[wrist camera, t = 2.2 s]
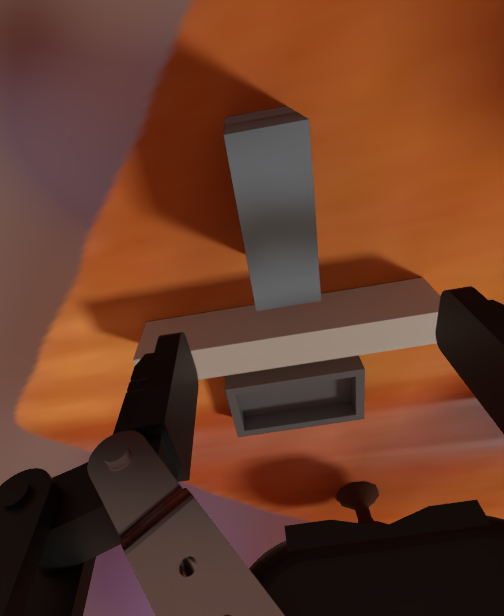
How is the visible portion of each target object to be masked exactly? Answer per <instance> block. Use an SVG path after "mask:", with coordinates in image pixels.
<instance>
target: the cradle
mask: <svg viewBox="0 0 504 616" xmlns="http://www.w3.org/2000/svg"><path fill="white" fill-rule="evenodd" d="M364 382H365V369H364V366H363V364H362V362H361V360H360V357H359V355H357V356H351V357H344V358H338V359H331V360H325V361H318V362H312V363H305V364H299V365H292V366H286V367H279V368H273V369H266V370H260V371H253V372H247V373H240V374H233V375H227V376H225V392H226V396H227V399H228V403H229V406H230V410H231V414H232V417H233V421H234V424H235V428H236V431H237V435H238V437H243V436H250V435H257V434H264V433H271V432H277V431H284V430H291V429H298V428H305V427H312V426H319V425H326V424H333V423H339V422H346V421H353V420H360V419H364Z"/></svg>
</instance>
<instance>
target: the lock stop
mask: <svg viewBox="0 0 504 616" xmlns="http://www.w3.org/2000/svg"><path fill="white" fill-rule="evenodd" d="M224 139H225V145H226V150H227V156H228V161H229V166H230V172H231V177H232V183H233V188H234V193H235V199H236V204H237V210H238V215H239V220H240V226H241V231H242V237H243V242H244V247H245V253H246V258H247V264H248V269H249V274H250V280H251V285H252V291H253V296H254V302H255V307H256V311H262V310H268V309H274V308H280V307H286V306H293V305H299V304H305V303H311V302H317V301H321V291H320V276H319V261H318V246H317V231H316V216H315V201H314V186H313V172H312V157H311V142H310V127H309V119H308V118H306V117H304V116H303V115H301V114H299V113H298V112H296V111H294V110H293V109H291V108H289V107H288V106H285V107H279V108H274V109H268V110H263V111H258V112H252V113H247V114H242V115H236V116H231V117H226V119H225V128H224Z"/></svg>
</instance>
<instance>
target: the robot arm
mask: <svg viewBox="0 0 504 616" xmlns="http://www.w3.org/2000/svg"><path fill="white" fill-rule="evenodd" d="M435 335H436V341H437V344H438V347H439V349H440V350H441V352H442V353H443V355H444V356H445V357H446V359H447V360H448V361H449V362H450V364H451V365H452V366H453V368H454V369H455V370H456V372H457V373H458V374H459V376H460V377H461V378H462V380H463V381H464V382H465V384H466V385H467V386H468V388H469V389H470V390H471V392H472V393H473V394H474V395H475V397H476V398H477V399H478V401H479V402H480V403H481V405H482V406H483V407H484V409H485V410H486V411H487V413H488V414H489V415H490V417H491V418H492V419H493V421H494V422H495V423H496V424H497V426H498V427H499V428H500V430H501V431H502V432H503V434H504V305H503V304H501V303H499V302H496V301H494V300H487V299H486V298H485V297H484V296H483V295H482V294H481V293H479V292H478V291H477V290H476V289H475V288H473V287H463V288H457V289H451V290H445V291H443V292H442V294H441V297H440V303H439V310H438V317H437V324H436V331H435ZM197 395H198V375H197V370H196V366H195V363H194V360H193V357H192V354H191V351H190V348H189V345H188V342H187V338H186V336H185V334H184V332H179V333H173V334H166V335H160V336H159V337H158V340H157V344H156V348H155V351H154V353H148V354H144V356H143V357H142V358H141V359H140V361H139V362H138V363H137V364H136V365H135V367H134V370H133V373H132V376H131V382H130V383H129V386H128V389H127V393H126V395H125V398H124V401H123V405H122V408H121V411H120V414H119V417H118V420H117V423H116V426H115V430H114V433H113V435H111V436H109V437H108V438H106V439H105V440H103V441H102V442H101V443H100V444H99V445H98V446H97V447H96V448H95V449H94V451H93V452H92V454H91V456H90V458H89V461H88V462H87V463H85V464H83V465H81V466H79V467H76V468H74V469H72V470H69V471H67V472H65V473H62V474H60V475H58V476H55V477H53V478H51V476H50V475H49V474H48V473H47V472H46V471H45V470H43V469H38V468H35V469H28V470H25V471H22V472H20V473H18V474H16V475H14V476H13V477H11V478H9V479H8V480H7V481H5V482H4V483H3V484H2V485H1V486H0V616H83V613H84V608H85V604H86V599H87V595H88V590H89V586H90V581H91V577H92V572H93V568H94V563H95V559H96V556H97V555H99V554H101V553H103V552H106V551H108V550H110V549H112V548H114V547H116V546H118V545H120V544H121V546H122V548H123V550H124V553H125V555H126V557H127V559H128V561H129V562H130V565H131V567H132V569H133V570H134V573H135V575H136V577H137V579H138V581H139V583H140V584H141V587H142V589H143V591H144V593H145V594H146V597H147V599H148V601H149V603H150V605H151V607H152V609H153V611H154V613H155V615H156V616H504V519H500V518H496V517H491V516H486V515H485V513H484V511H483V510H482V508H481V506H480V505H479V503H478V501H477V500H472V501H464V502H457V503H450V504H442V505H435V506H428V507H426V508H424V509H422V510H420V511H418V512H415V513H413V514H411V515H409V516H407V517H404V518H402V519H400V520H398V521H396V522H394V523H391V524H389V525H386V526H375V525H367V524H360V523H352V522H345V521H337V520H325V521H318V522H311V523H303V524H296V525H289V526H285V533H286V541H284V542H282V543H280V544H278V545H276V546H275V547H273V548H271V549H270V550H268V551H267V552H266V553H265V554H263V555H262V556H261V557H260V558H259V559H257V561H256V562H255V563H254V564H253V565H252V566H251V567H250V568H248V567H247V566H246V564H245V563H244V562H243V560H242V559H241V558H240V557H239V555H238V554H237V553H236V551H235V550H234V549H233V547H232V546H231V545H230V543H229V542H228V541H227V540H226V538H225V537H224V536H223V534H222V533H221V532H220V530H219V529H218V528H217V527H216V525H215V524H214V523H213V521H212V520H211V519H210V517H209V516H208V515H207V513H206V512H205V511H204V509H203V508H202V507H201V506H200V504H199V503H198V502H197V500H196V499H195V498H194V496H193V495H192V494H191V493H190V492H189V490H187V489H186V488H184V489H183V488H182V487H181V486H180V484H179V483H178V482H180V481H187V480H189V477H190V467H191V456H192V446H193V436H194V426H195V415H196V405H197Z"/></svg>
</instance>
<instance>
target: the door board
mask: <svg viewBox="0 0 504 616" xmlns="http://www.w3.org/2000/svg"><path fill="white" fill-rule="evenodd" d="M440 297H441V296H440V295H439V294H438V293H437V292H436V291H435V290H434V289H433V288H432V287H431V286H430V284H429V283H428V282H427V281H426V280H425V279H424V278H423V277H422V278H416V279H410V280H404V281H398V282H391V283H385V284H379V285H373V286H367V287H361V288H354V289H348V290H342V291H336V292H330V293H323V294H321V301H317V302H311V303H305V304H299V305H293V306H286V307H280V308H274V309H268V310H262V311H256V307H255V305H249V306H243V307H237V308H231V309H225V310H218V311H212V312H206V313H200V314H194V315H187V316H181V317H175V318H169V319H163V320H157V321H150V322H146V324H145V327H144V330H143V332H142V335H141V338H140V341H139V344H138V347H137V350H136V353H135V356H134V359H133V361H134V363H135V365H136V364H137V363H138V362H139V361H140V359H141V358H142V357H143V356H144V354H148V353H154V351H155V348H156V344H157V340H158V337H159V336H160V335H166V334H173V333H179V332H184V334H185V336H186V338H187V342H188V345H189V348H190V351H191V354H192V357H193V360H194V363H195V366H196V370H197V375H198V380H201V379H207V378H214V377H220V376H227V375H233V374H240V373H247V372H253V371H260V370H266V369H273V368H279V367H286V366H292V365H299V364H305V363H312V362H318V361H325V360H331V359H338V358H344V357H351V356H357V355H364V354H370V353H377V352H384V351H390V350H397V349H403V348H410V347H416V346H423V345H429V344H436V343H437V341H436V335H435V331H436V324H437V317H438V310H439V303H440Z"/></svg>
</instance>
